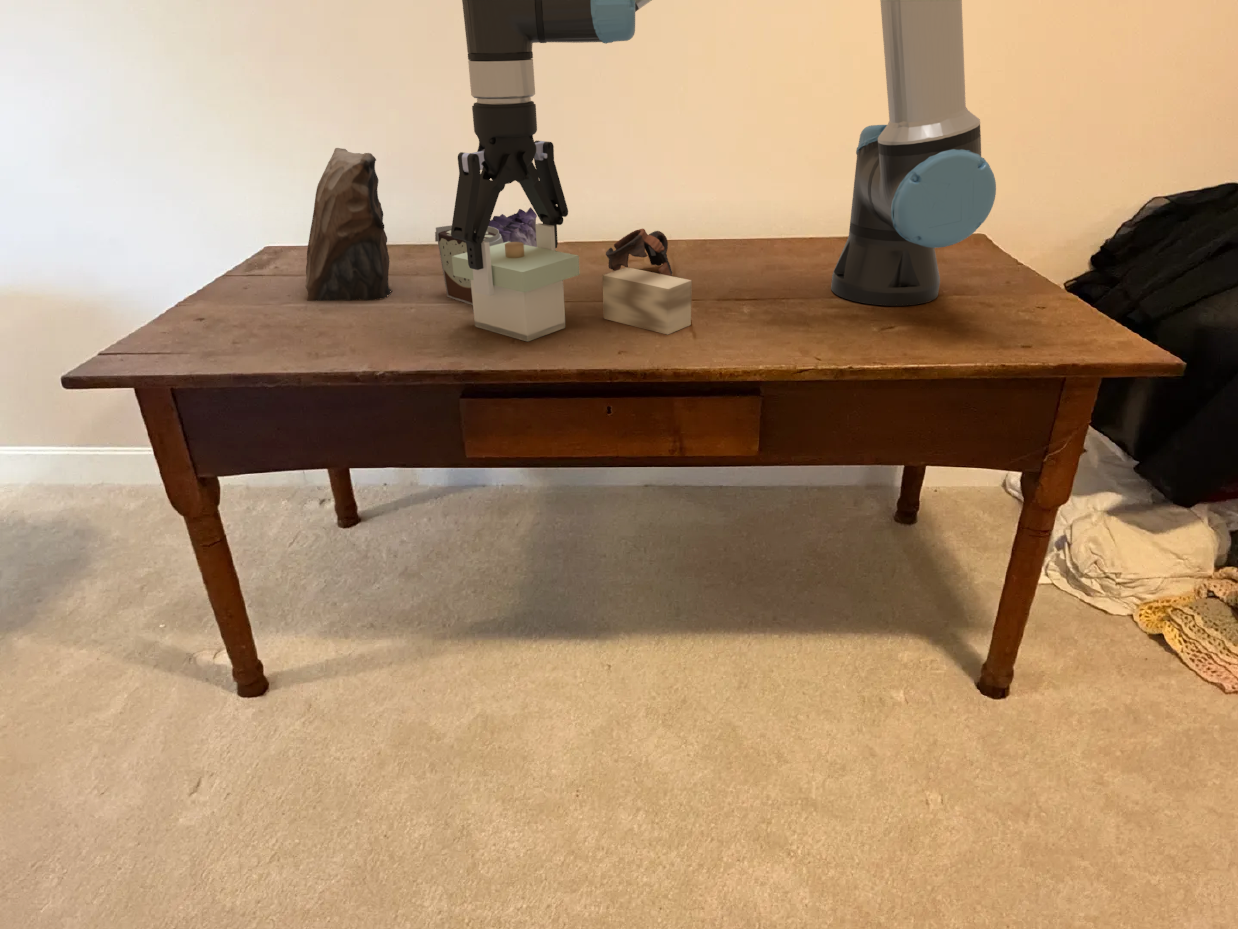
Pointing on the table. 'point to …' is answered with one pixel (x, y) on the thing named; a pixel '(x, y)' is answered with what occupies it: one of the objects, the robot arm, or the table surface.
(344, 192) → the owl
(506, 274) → the lid
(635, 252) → the pottery mug
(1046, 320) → the table surface
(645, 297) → the marbled stone block
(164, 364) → the table surface
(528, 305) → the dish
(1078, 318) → the table surface
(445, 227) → the food container
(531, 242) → the geode
